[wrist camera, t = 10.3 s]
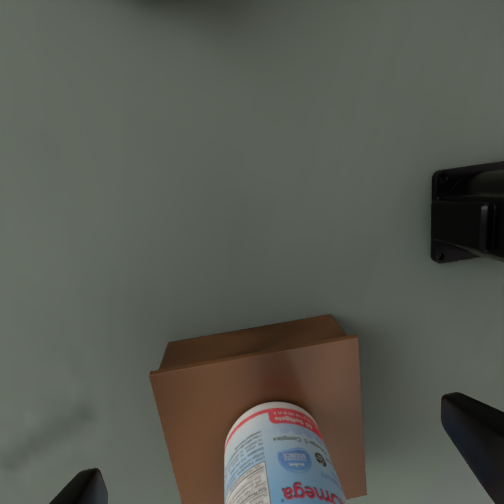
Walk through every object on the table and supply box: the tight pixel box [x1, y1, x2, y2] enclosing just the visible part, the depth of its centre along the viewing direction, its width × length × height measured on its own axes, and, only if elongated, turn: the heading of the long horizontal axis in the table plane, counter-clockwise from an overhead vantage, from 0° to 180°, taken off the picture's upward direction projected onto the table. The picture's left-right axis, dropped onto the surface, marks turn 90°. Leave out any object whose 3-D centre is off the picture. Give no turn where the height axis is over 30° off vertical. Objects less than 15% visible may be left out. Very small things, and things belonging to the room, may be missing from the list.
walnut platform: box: [149, 314, 367, 504], centre depth 20 cm, size 13×13×4 cm
